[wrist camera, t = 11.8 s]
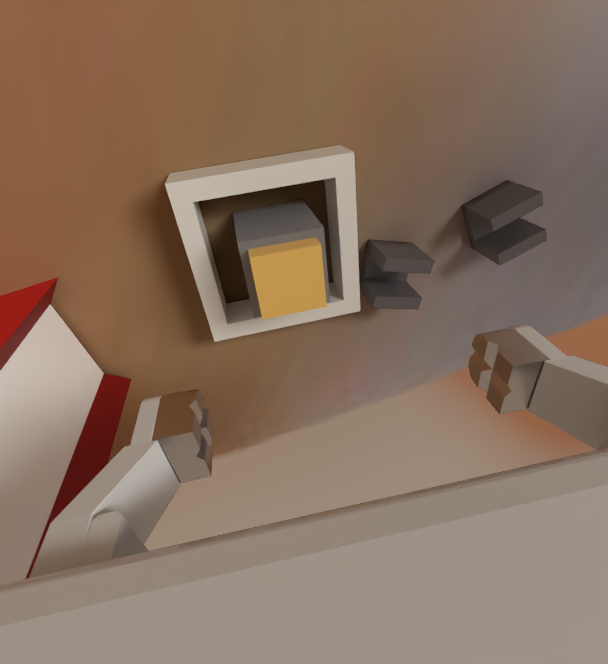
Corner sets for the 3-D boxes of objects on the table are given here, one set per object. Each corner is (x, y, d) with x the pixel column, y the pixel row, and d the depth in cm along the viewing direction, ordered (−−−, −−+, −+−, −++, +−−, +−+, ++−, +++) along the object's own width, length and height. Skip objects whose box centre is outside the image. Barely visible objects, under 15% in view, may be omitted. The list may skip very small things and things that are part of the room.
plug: (302, 199, 21) (329, 234, 16) (310, 264, 24) (335, 312, 19) (232, 211, 21) (238, 250, 16) (247, 276, 23) (255, 328, 18)
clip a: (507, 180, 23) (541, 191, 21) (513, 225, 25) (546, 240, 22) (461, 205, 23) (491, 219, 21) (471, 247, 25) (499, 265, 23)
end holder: (340, 145, 20) (354, 151, 18) (348, 292, 25) (360, 311, 23) (169, 173, 19) (164, 183, 17) (214, 320, 24) (214, 341, 22)
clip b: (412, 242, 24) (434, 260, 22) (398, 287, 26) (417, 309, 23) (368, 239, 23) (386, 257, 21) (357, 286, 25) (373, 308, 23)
